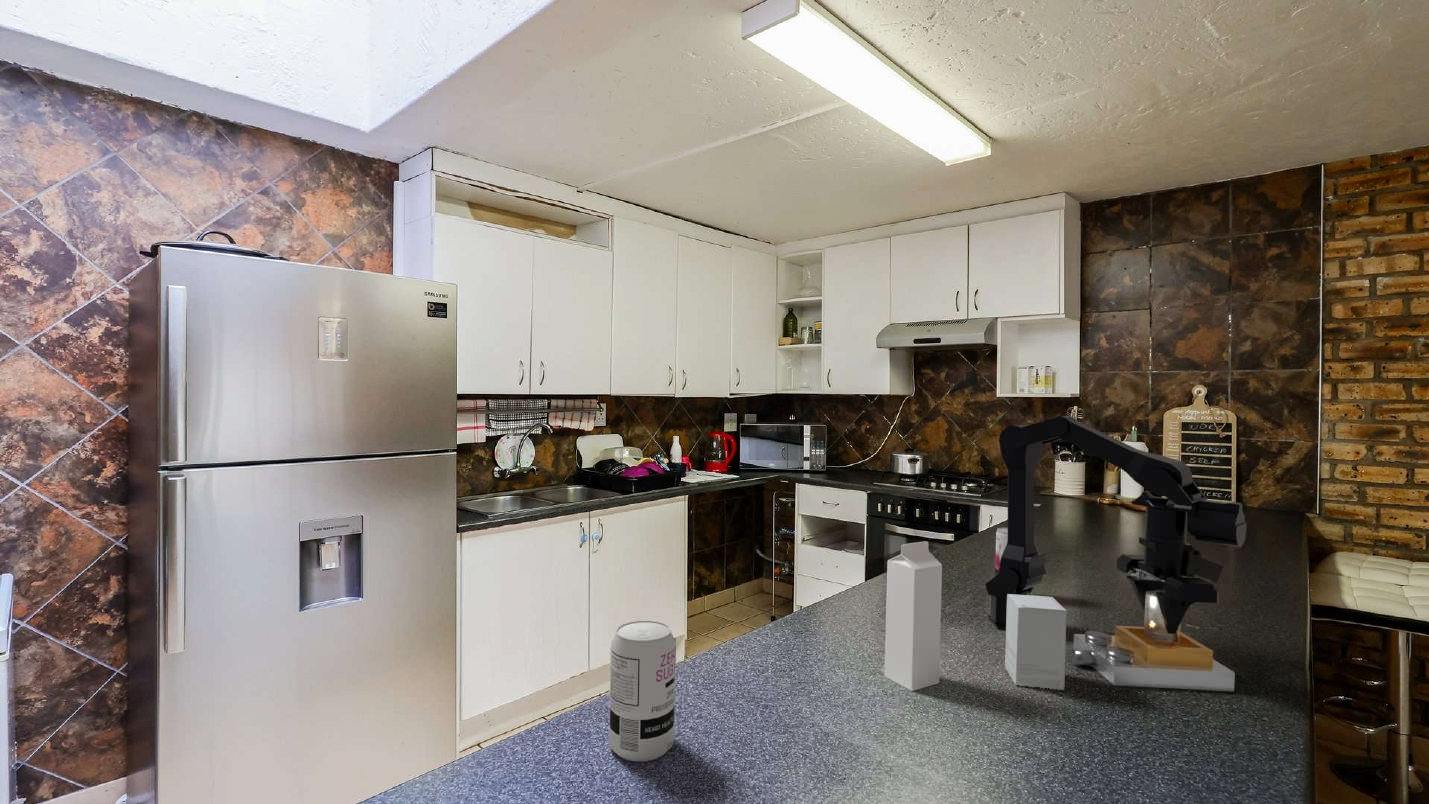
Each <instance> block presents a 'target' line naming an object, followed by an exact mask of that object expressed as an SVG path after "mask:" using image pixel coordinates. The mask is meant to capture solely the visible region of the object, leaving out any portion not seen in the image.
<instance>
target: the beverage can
mask: <svg viewBox="0 0 1429 804" xmlns="http://www.w3.org/2000/svg"><path fill="white" fill-rule="evenodd" d="M995 535H996V536H995V561H994V562H995V563H994V565H995V566H994V577H995V576H997V575H998V570H999V565H1000V559H1001V556H1002V554H1003V552H1004V549H1005V547H1006V545H1007V541H1008V527H998V528H997V529H996V532H995Z"/></svg>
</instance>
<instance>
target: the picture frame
mask: <svg viewBox="0 0 1429 804" xmlns="http://www.w3.org/2000/svg"><path fill="white" fill-rule="evenodd" d="M1070 656H1071V661H1072V663H1073V665H1074V666H1075V665H1077V666H1091V667H1092V668H1093V669H1094V670H1095V671H1096V672H1098V673H1099V674H1100V675H1102V676H1103V677H1104V678H1105V679H1106V680H1107V681H1109V682H1110V683H1111V684H1112V685H1113V686H1121V687H1141V688H1144V687H1145V688H1158V689H1159V688H1161V689H1180V690H1181V689H1182V690H1197V691H1198V690H1200V691H1217V692H1218V691H1219V692H1235V680H1236V679H1235V676H1236V674H1235V671H1233V670H1231V669H1230V668H1229V667H1227V666H1225V665H1223V664H1221V663H1220V662H1218V661H1216V660H1215V659H1214V650H1212V649H1210V648H1208V647H1207V646H1205V645H1204V644H1202V643H1200V642H1199V641H1197V640H1195V639H1194V638H1193V637H1190V636H1189V635H1187V634H1185V633H1184V632H1182V631H1180V641H1179V642H1174V643H1171V642H1163V641H1158V640H1154V639H1151V638H1149V637H1147V636H1145V635H1144V626H1133V625H1132V626H1131V625H1130V626H1129V625H1114V635H1110V634H1108V633H1105V632H1101V631H1097V630H1087V631H1085V632H1084V633H1083V634H1082V633H1073V649H1072V650H1071V653H1070Z"/></svg>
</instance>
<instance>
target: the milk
mask: <svg viewBox="0 0 1429 804" xmlns="http://www.w3.org/2000/svg"><path fill="white" fill-rule="evenodd" d="M886 567H887V568H886V569H887V570H886V572H887V573H886V602H885V603H886V604H885V606H886V607H885V610H886V611H885V643H884V645H885V646H884V647H885V648H884V649H885V651H884V656H885V657H884V677H885V678H887V679H889V680H890V681H892V682H894V683H896V684H898V685H899V686H901V687H903V688H905V689H907V690H909V691H910V692H914V691H917V690H920V689H924V688H928V687H932V686H934V685H938V684H939V683H940V657H941V656H940V653H941V621H942V618H941V616H942V614H941V613H942V585H943V584H942V582H943V578H942V577H943V564H942V563H941V562H940V561H939V560H938V559H937V558H936V557H935V556H934V555H933V554H932V552H930V550H929V541H920V542H919V541H918V542H911V543H904V544H902V545H901V547H900V554H899V555H896V556H894V557H892V558H890V559H888V560H887V566H886Z"/></svg>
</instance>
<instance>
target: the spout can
mask: <svg viewBox="0 0 1429 804" xmlns="http://www.w3.org/2000/svg"><path fill="white" fill-rule="evenodd" d="M1156 592H1165V591H1164V589H1163V590H1155V591H1147V592H1146V594H1145V612H1144V620H1143V621H1144V626H1143V627H1144V635H1145V636H1147V637H1149V638H1151V639H1154V640H1158V641H1163V642H1171V643H1174V642H1179V641H1180V632H1181V625H1182V622H1181V623H1180V625H1179V627H1178V629H1177V631H1176V633H1175V634H1169V633H1167V630H1166V627H1165V624H1164V621H1163V617H1162V613H1161V610H1160V606H1159V602H1158V599H1157V595H1156ZM1191 607H1194V604H1192V605H1190V606H1189V608H1191Z"/></svg>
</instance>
